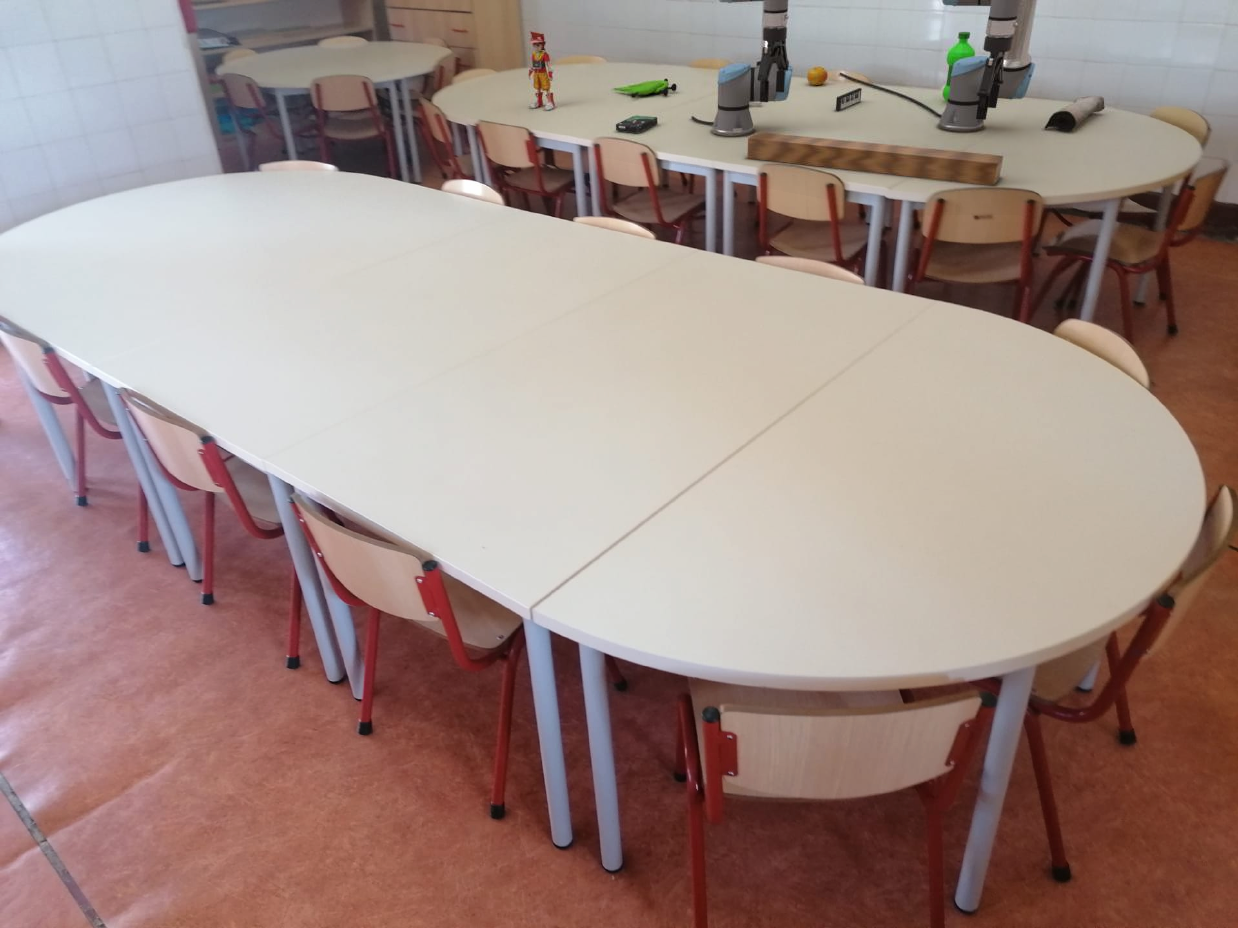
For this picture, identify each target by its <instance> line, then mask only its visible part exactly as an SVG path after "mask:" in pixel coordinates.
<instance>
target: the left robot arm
mask: <svg viewBox="0 0 1238 928" xmlns="http://www.w3.org/2000/svg"><path fill="white" fill-rule="evenodd" d="M718 1H719V2H720V3H728V4H732V3H747V2H748V3H750V2H762V13H761V14H762V15H761V16H762V19H761V44H760V46H761V47H760V50H761V51H760V58H759V59H757V61H756V66H753V67H752V65H751V63H750V62H747V61H746V62H735V63H730V64H727V65H724V66H722V67H720V69H719V70H718V75H717V111H716V114H715V118H714V120H713V121H706V120H702V119H698V118H696V117H695V116H693V115H692V116H691V117H690V118H691V119H692V120H693V121H695V122H697V123H699V124H704V125H708V126H709V125H710V126H712V133H713V134H715V135H717V136H721V137H741V136H746V135H750V134H752V133H754V127H755V126H754V122H753V118H752V115H751V111H750V106H749V102H761V103H769V102H774V103H775V102H783V101H786V100H787V99H788V98H789V94H790V88H791V82H792V77H793V70H794V67H793V66H792V65H790V60H789V59H788V52H787V51H788V50H787V35H788V27H787V25H788V19H789V18H790V17H789V16H790V15H788V14H789V13H788V12H789V11H788V10H789V0H718Z"/></svg>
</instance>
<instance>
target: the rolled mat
mask: <svg viewBox="0 0 1238 928" xmlns="http://www.w3.org/2000/svg"><path fill="white" fill-rule="evenodd" d="M1105 107H1106V106H1105V98H1104V97H1103V96H1097V95H1089V96H1084V97H1079V98H1076V99H1075V100H1074V101H1073V102H1072V103H1071V104H1068V105H1067V106H1065V107H1062V108H1060V109H1059V110H1057V111H1055V112H1054V113H1053V114H1051V115H1050V117H1049V119H1048V121H1047V122H1046V124H1045V126H1044V130H1047V129H1049V128H1056V129H1057V130H1058V131H1061V132H1068V133H1069V132H1072V131H1073V130H1074V129H1076V128H1077V126H1079V125H1080V124H1081V122H1082V121H1084V120H1085V119H1086V118H1087V117H1089V116H1090V115H1091V114H1094V113H1099V112H1102V111H1104V110H1105Z"/></svg>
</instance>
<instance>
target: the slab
mask: <svg viewBox="0 0 1238 928" xmlns="http://www.w3.org/2000/svg"><path fill="white" fill-rule="evenodd" d="M747 159H752V160H759V161H761V160H762V161H770V162H779V163H780V162H781V163H786V164H798V165H805V166H815V167H824V168H833V169H840V170H841V169H842V170H850V171H859V172H866V173H867V172H868V173H877V174H886V175H894V176H895V175H896V176H905V177H911V178H912V177H913V178H921V179H929V180H940V181H949V182H958V183H966V184H967V183H968V184H974V185H975V184H976V185H985V186H995V184H996V183H997V182H998V180H999V179H1000V177H1001V176H1000V175H1001V172H1002V167H1003V160H1004V155H1001V154H1000V155H998V154H988V153H979V152H969V151H968V152H967V151H960V150H959V151H957V150H948V149H937V148H927V147H919V146H918V147H916V146H908V145H907V146H906V145H897V144H896V145H894V144H886V143H875V142H866V141H865V142H864V141H855V140H844V139H833V138H824V137H815V136H804V135H794V134H793V135H792V134H785V133H784V134H783V133H773V132H764V131H763V132H762V131H757V132H755V133H754V134H752V135H751V136H750V137H748V138H747Z"/></svg>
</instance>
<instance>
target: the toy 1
mask: <svg viewBox="0 0 1238 928" xmlns="http://www.w3.org/2000/svg"><path fill="white" fill-rule="evenodd" d="M529 33H530V35H531V36H528V37H527V38H528V39H529V40H528V41H527V43H529V44H530V43H531V44H532V48H533V50H534V51H533V52H532V55H531V58H530V59H531V63H530V66H528V74H527V75H528V76H527V77H528V79H529V80H531V75H532V74H533V84H532V85H533V86H532V87H533V88H534V89H535V90H536V92H534V95H535V97H536V100H535V101H533V102H531V105H530V108H531V109H535V108H538V107H542V106H544V101H543V100H544V99H543V95H544V92H546V94H545V97H546V99H547V103H546V104H545V106H544V110H546V111H549V110H553V109H554V107H555V106H556V105H555V99H554V92H551V91H550V90H551V86H552V84H551V82H552V81H553V80H554V77H553V73H554V71H555V70H554V69H552V68H551V63H550V61H551V59H550V58H551V57H550V54H549V53H548V52H547V50H546V48H545V46H546V44H547V41H545V35H544V33H543V32H542V33H539V32H535V31H529Z"/></svg>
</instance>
